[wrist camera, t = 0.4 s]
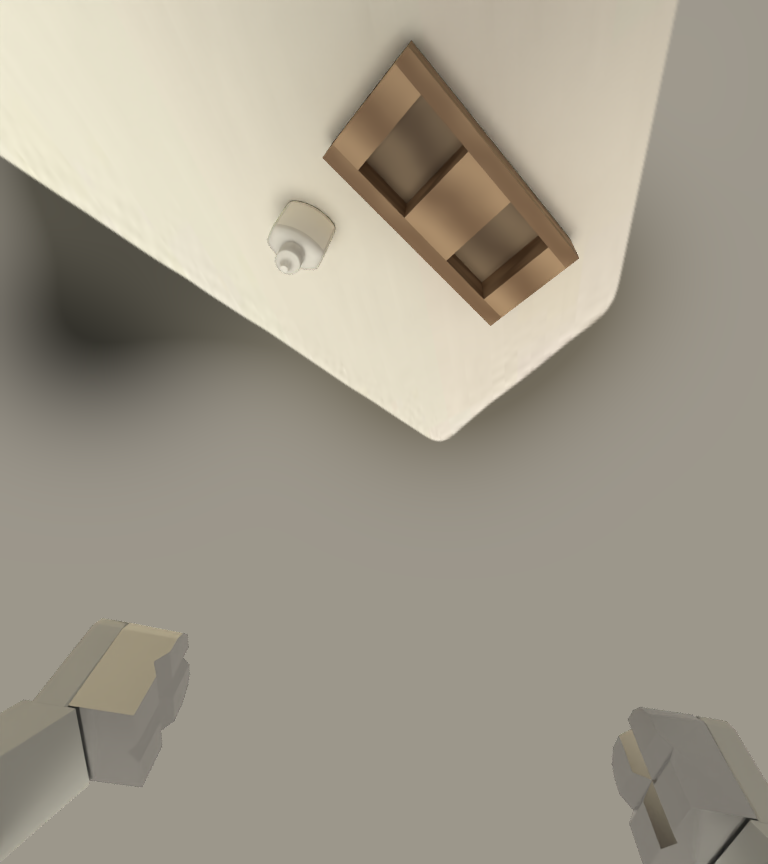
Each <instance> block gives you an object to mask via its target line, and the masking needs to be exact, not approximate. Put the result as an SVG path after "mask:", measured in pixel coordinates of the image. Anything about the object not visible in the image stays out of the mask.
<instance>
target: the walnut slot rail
mask: <svg viewBox="0 0 768 864" xmlns="http://www.w3.org/2000/svg"><path fill="white" fill-rule="evenodd" d="M323 159H324V160H325V161H326V162H327V163H328V164H329V165H330V166H331V167H332V168H333V169H334V170H335V171H336V172H337V173H338V174H339V175H340V176H341V177H342V178H343V179H344V180H345V181H346V182H347V183H348V184H349V185H350V186H351V187H352V188H353V189H354V190H355V191H356V192H357V193H358V194H359V195H360V196H361V197H362V198H363V199H364V200H365V201H366V202H367V203H368V204H369V205H370V206H371V207H372V208H373V209H374V210H375V211H376V212H377V213H378V214H379V215H380V216H381V217H382V218H383V219H384V220H385V221H386V222H387V223H388V224H389V225H390V226H391V227H392V228H393V229H394V230H395V231H396V232H397V233H398V234H399V235H400V236H401V237H402V238H403V239H404V240H405V241H406V242H407V243H408V244H409V245H410V246H411V247H412V248H413V249H414V250H415V251H416V252H417V253H418V254H419V255H420V256H421V257H422V258H423V259H424V260H425V261H426V262H427V263H428V264H429V265H430V266H431V267H432V268H433V269H434V270H435V271H436V272H437V273H438V274H439V275H440V276H441V277H442V278H443V279H444V280H445V281H446V282H447V283H448V284H449V285H450V286H451V287H452V288H453V289H454V290H455V291H456V292H457V293H458V294H459V295H460V296H461V297H462V298H463V299H464V300H465V301H466V302H467V303H468V304H469V305H470V306H471V307H472V308H473V309H474V310H475V311H476V312H477V313H478V314H479V315H480V316H481V317H482V318H483V319H484V320H485V321H486V322H487V323H488V324H489V325H490V326H491V325H492V324H494V323H495V322H496V321H498V320H499V319H500V318H501V317H503V316H504V315H505V314H507V313H508V312H509V311H511V310H512V309H513V308H515V307H516V306H517V305H518V304H520V303H521V302H522V301H524V300H525V299H526V298H528V297H529V296H530V295H532V294H533V293H534V292H536V291H537V290H538V289H539V288H541V287H542V286H543V285H545V284H546V283H547V282H549V281H550V280H551V279H553V278H554V277H555V276H556V275H558V274H559V273H560V272H562V271H563V270H564V269H566V268H567V267H568V266H570V265H571V264H572V263H574V262H575V261H576V260H577V259H579V257H578V255H577V252H576V250H575V248H574V246H573V244H572V242H571V240H570V238H569V237H568V236H567V234H566V233H565V232H564V231H563V229H562V228H561V227H560V226H559V224H558V223H557V222H556V221H555V219H554V218H553V217H552V216H551V214H550V213H549V212H548V211H547V209H546V208H545V207H544V206H543V204H542V203H541V202H540V201H539V199H538V198H537V197H536V196H535V194H534V193H533V192H532V191H531V189H530V188H529V187H528V186H527V184H526V183H525V182H524V181H523V179H522V178H521V177H520V176H519V174H518V173H517V172H516V171H515V169H514V168H513V167H512V166H511V164H510V163H509V162H508V161H507V159H506V158H505V157H504V156H503V154H502V153H501V152H500V151H499V149H498V148H497V147H496V146H495V144H494V143H493V142H492V141H491V139H490V138H489V137H488V136H487V134H486V133H485V132H484V131H483V129H482V128H481V127H480V126H479V124H478V123H477V122H476V121H475V119H474V118H473V117H472V116H471V114H470V113H469V112H468V111H467V109H466V108H465V107H464V106H463V104H462V103H461V102H460V101H459V99H458V98H457V97H456V96H455V94H454V93H453V92H452V91H451V89H450V88H449V87H448V86H447V84H446V83H445V82H444V81H443V79H442V78H441V77H440V76H439V74H438V73H437V72H436V71H435V69H434V68H433V67H432V66H431V64H430V63H429V62H428V61H427V59H426V58H425V57H424V56H423V54H422V53H421V52H420V51H419V49H418V48H417V47H416V46H415V44H414V43H413V42H412V41H411V42H410V43H409V44H408V45H407V47H406V48H405V49H404V51H403V52H402V53H401V55H400V56H399V57H398V59H397V60H396V61H395V62H394V64H393V65H392V66H391V68H390V69H389V70H388V72H387V73H386V74H385V75H384V77H383V78H382V79H381V81H380V82H379V83H378V85H377V86H376V87H375V88H374V90H373V91H372V92H371V94H370V95H369V96H368V98H367V99H366V100H365V102H364V103H363V104H362V105H361V107H360V108H359V109H358V111H357V112H356V113H355V115H354V116H353V117H352V118H351V120H350V121H349V122H348V124H347V125H346V126H345V128H344V129H343V130H342V131H341V133H340V134H339V135H338V137H337V138H336V139H335V141H334V142H333V143H332V145H331V146H330V148H329V149H328V150H327V152H326V153H325V155H324V156H323Z"/></svg>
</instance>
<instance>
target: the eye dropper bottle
mask: <svg viewBox="0 0 768 864" xmlns="http://www.w3.org/2000/svg"><path fill="white" fill-rule="evenodd" d="M334 233H335V227H334V225H333V223H332V222H331V221H330V219H329V218H328V217H327V216H326V215H325V214H324V213H322V212H321V211H320V210H318V209H317V208H315V207H313V206H311V205H309V204H306V203H303V202H298V201H291V202H289V203H288V204H287V206H286V207H285V209H284V210H283V212H282V213H281V214H280V216H279V217H278V219H277V220H276V222H275V223H274V225H273V227H272V229H271V231H270V234H269V236H268V244H269V246H270V248H271V249H272V250H273V251H274V253H275V254H276V257H275V263H276V266H277V268H278V269H279V270H280V271H281V272H282V273H284V274H288V275H291V274H295V273H297V272H298V271H299V269H306V270H315V269H317V268H318V267H319V265H320V263H321V262H322V259H323V257H324V255H325V253H326V251H327V249H328V246H329V244H330V242H331V239H332V237H333V235H334Z"/></svg>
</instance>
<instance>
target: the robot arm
mask: <svg viewBox="0 0 768 864" xmlns="http://www.w3.org/2000/svg"><path fill="white" fill-rule="evenodd" d="M188 647H189V646H188V635H187V634H185V633H180V632H175V631H170V630H164V629H159V628H154V627H148V626H144V625H139V624H134V623H127V622H122V621H117V620H110V619H105V618H102V619H101V620H99V621H98V622H96V623H95V624H94V625H92V627H91V628H90V629H89V630H88V632H87V633H86V634H85V635H84V637H83V638H82V639H81V641H80V642H79V643H78V644H77V646H76V647H75V648H74V649H73V650H72V652H71V653H70V654H69V656H68V657H67V658H66V659H65V661H64V662H63V663H62V664H61V666H60V667H59V668H58V669H57V671H56V672H55V673H54V675H53V676H52V677H51V678H50V680H49V681H48V682H47V683H46V685H45V686H44V687H43V689H42V690H41V691H40V692H39V693H38V695H37V696H36V697H35V699H34V700H33V701H29V700H22V701H20V702H19V703H17V704H15V705H14V706H12V707H10V708H8V709H7V710H5V711H3V712H1V713H0V862H1V861H2V860H3V859H5V858H6V857H7V856H8V855H9V854H10V853H11V852H12V851H13V850H15V849H16V848H17V847H18V846H19V845H21V844H22V843H23V842H24V841H25V840H26V839H27V838H29V837H30V836H31V835H32V834H33V833H34V832H36V831H37V830H38V829H39V828H40V827H41V826H42V825H43V824H45V823H46V822H47V821H48V820H49V819H50V818H52V817H53V816H54V815H55V814H56V813H57V812H58V811H60V810H61V809H62V808H63V807H64V806H65V805H67V804H68V803H69V802H70V801H71V800H72V799H73V798H75V797H76V796H77V795H78V794H79V793H80V792H81V791H83V790H84V789H85V788H86V787H87V786H88V785H89V784H90V781H89V780H91V781H98V782H105V783H113V784H120V785H128V786H135V787H143V785H144V783H145V780H146V778H147V776H148V774H149V772H150V770H151V768H152V766H153V764H154V762H155V760H156V758H157V756H158V754H159V752H160V750H161V747H162V737H161V730H162V729H164V728H165V727H167V726H168V725H169V724H170V723H172V722H173V721H174V720H175V719H176V716H177V714H178V712H179V710H180V708H181V706H182V703H183V700H184V697H185V694H186V690H187V687H188V680H189V664H188V662H187V661H186V660H185V659H184V658H183V657H184V655H185V653H186V651H187V649H188ZM628 721H629V724H630V726H631V729H630V730H628V731H626V732H624V733H622V734H621V735H619V736H618V738H617V741H616V743H615V745H614V747H613V758H612V766H613V772H614V778H615V781H616V785H617V788H618V791H619V794H620V795H621V796H622V798H623V799H624V800H625V801H626V802H627V803H628V804H629V806H630V807H631V808H632V809H633V813H632V816H631V820H630V827H631V830H632V833H633V836H634V839H635V842H636V845H637V848H638V851H639V854H640V856H641V860H642V862H643V864H768V783H767V782H766V780H765V778H764V777H763V775H762V773H761V772H760V770H759V768H758V767H757V765H756V763H755V762H754V760H753V758H752V757H751V755H750V753H749V752H748V750H747V748H746V747H745V745H744V743H743V742H742V740H741V738H740V737H739V735H738V733H737V732H736V730H735V729H734V728H733V727H732V726H731V725H730V724H729V723H728V722H727V721H723V720H718V719H711V718H705V717H699V716H693V715H690V714H683V713H677V712H671V711H663V710H657V709H650V708H643V707H639V708H637V709H635V710H633V711H632V713H631V715H630V717H629V718H628Z"/></svg>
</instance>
